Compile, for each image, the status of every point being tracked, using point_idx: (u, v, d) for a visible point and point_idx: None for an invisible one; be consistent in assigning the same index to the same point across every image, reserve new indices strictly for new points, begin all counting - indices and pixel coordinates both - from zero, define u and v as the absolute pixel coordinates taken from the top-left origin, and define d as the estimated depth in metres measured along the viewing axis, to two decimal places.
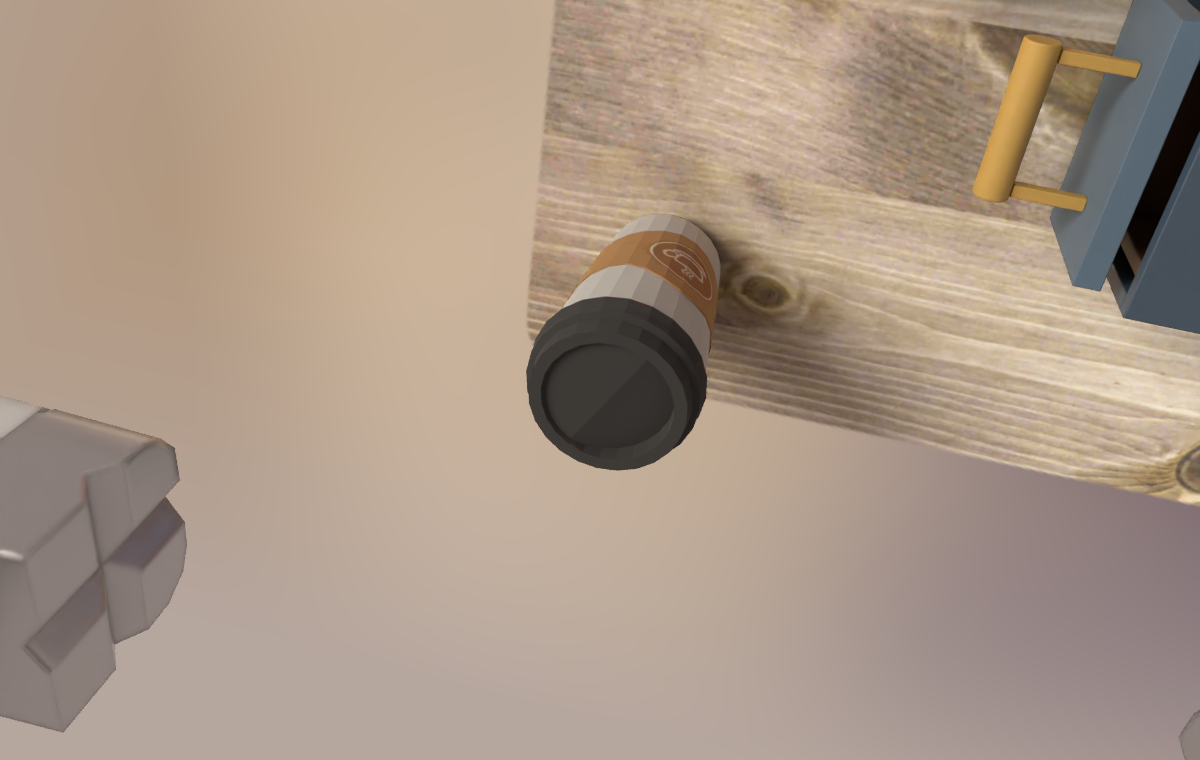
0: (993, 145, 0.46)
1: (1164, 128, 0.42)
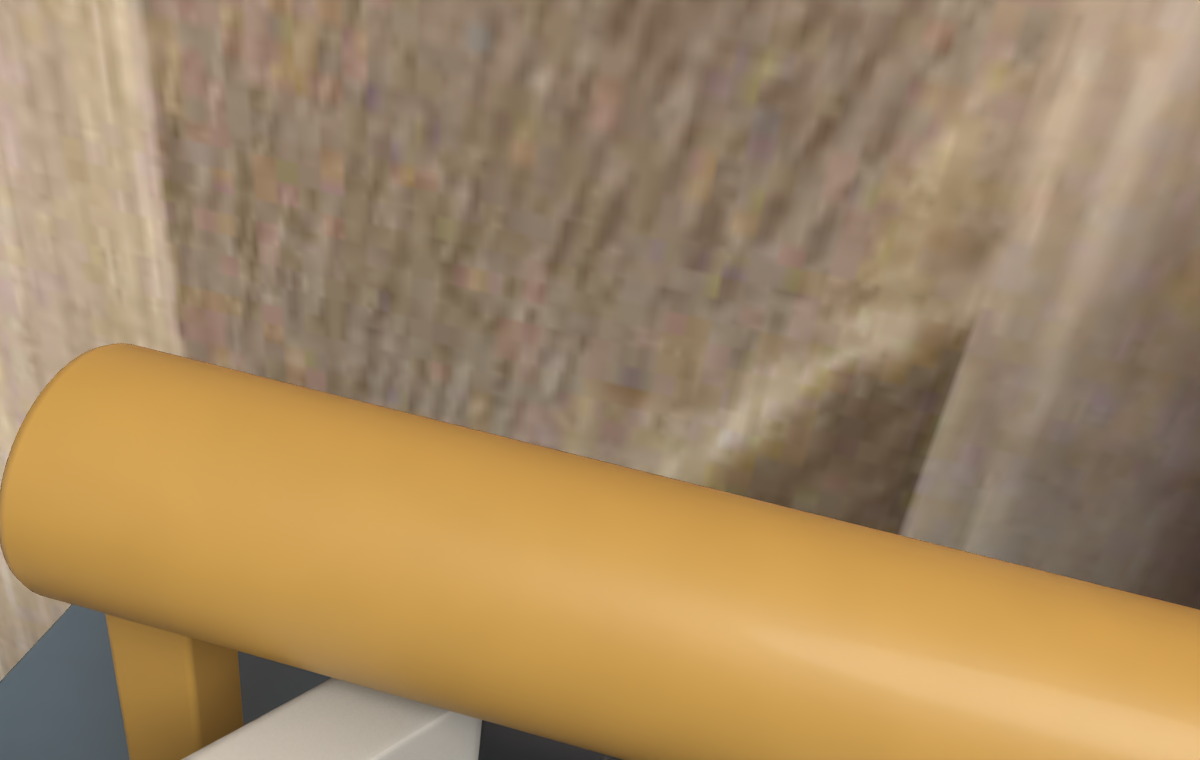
0: (426, 531, 0.06)
1: None
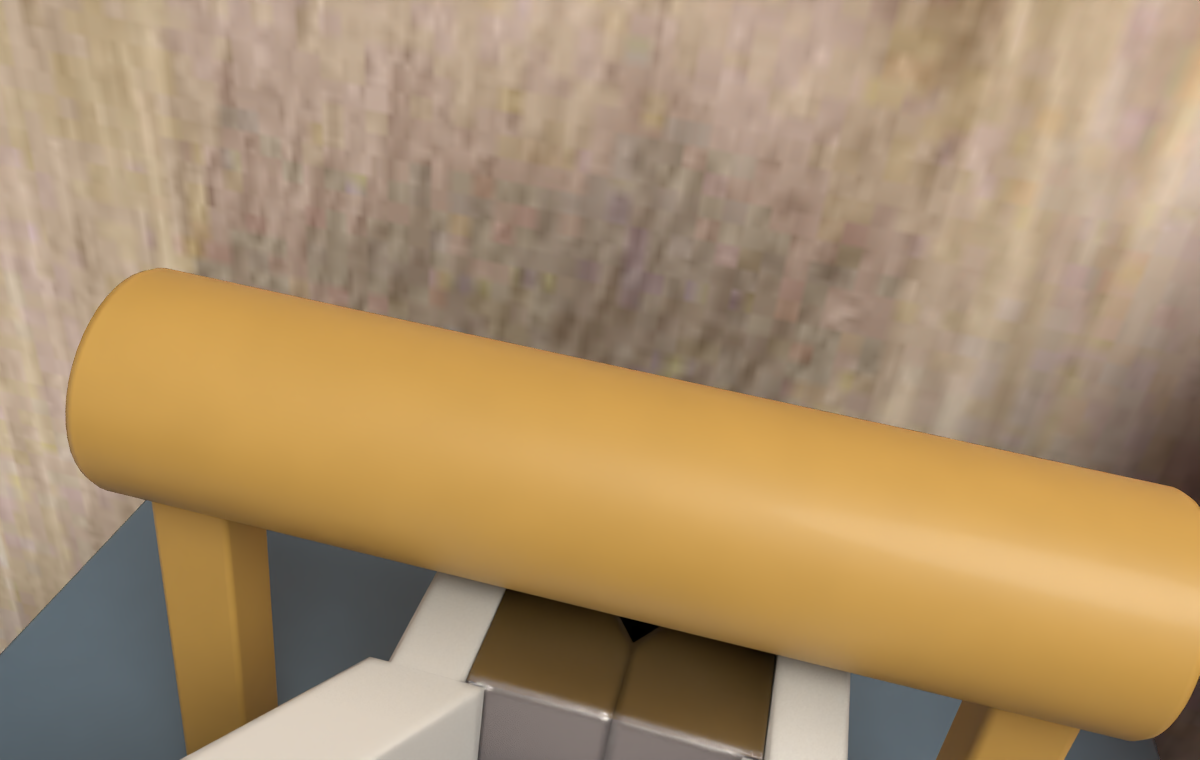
0: (435, 412, 0.06)
1: None
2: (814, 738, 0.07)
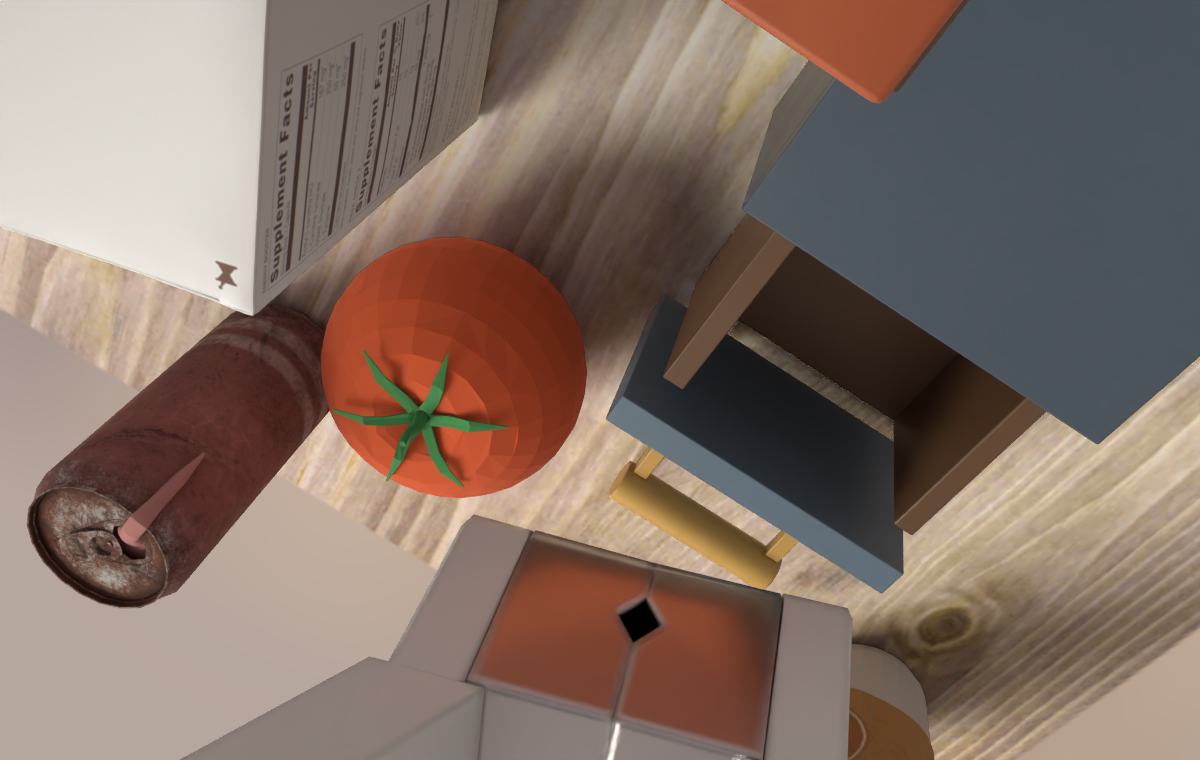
0: (708, 558, 0.41)
1: (721, 464, 0.36)
2: (814, 738, 0.07)
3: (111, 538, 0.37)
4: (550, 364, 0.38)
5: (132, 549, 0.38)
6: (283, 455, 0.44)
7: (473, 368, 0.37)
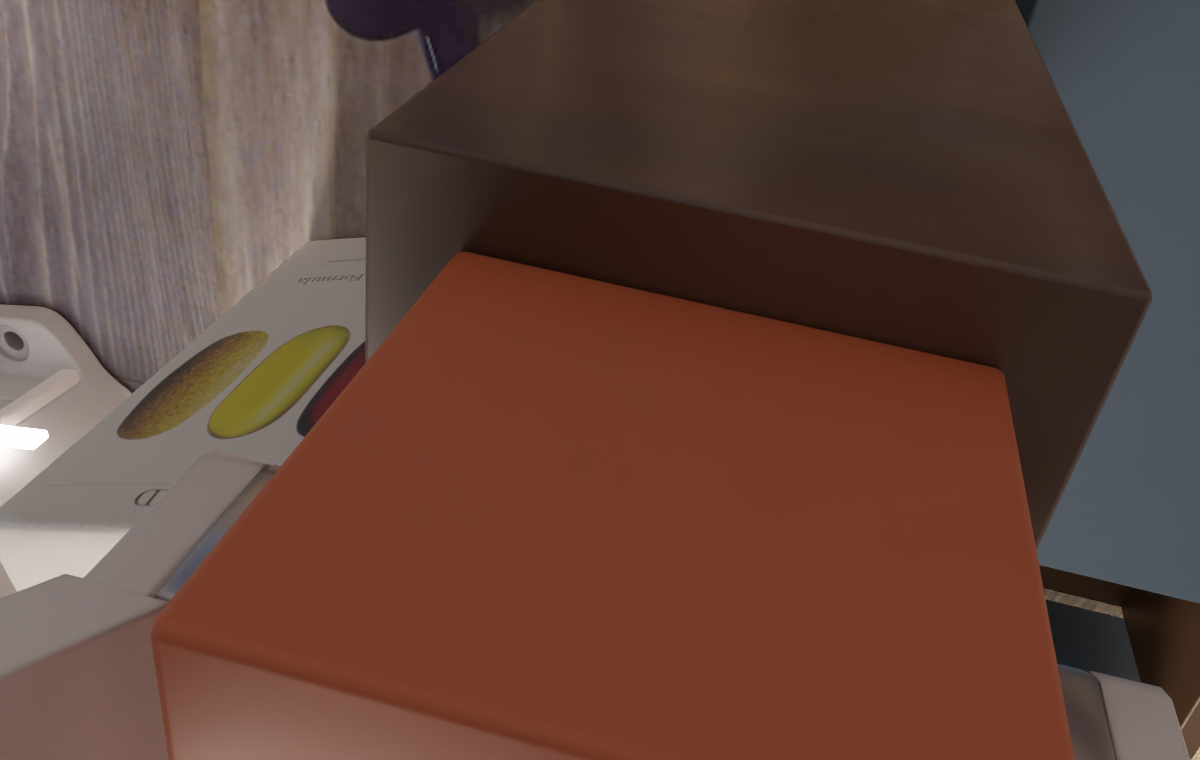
0: None
1: None
2: None
3: None
4: None
5: None
6: None
7: None
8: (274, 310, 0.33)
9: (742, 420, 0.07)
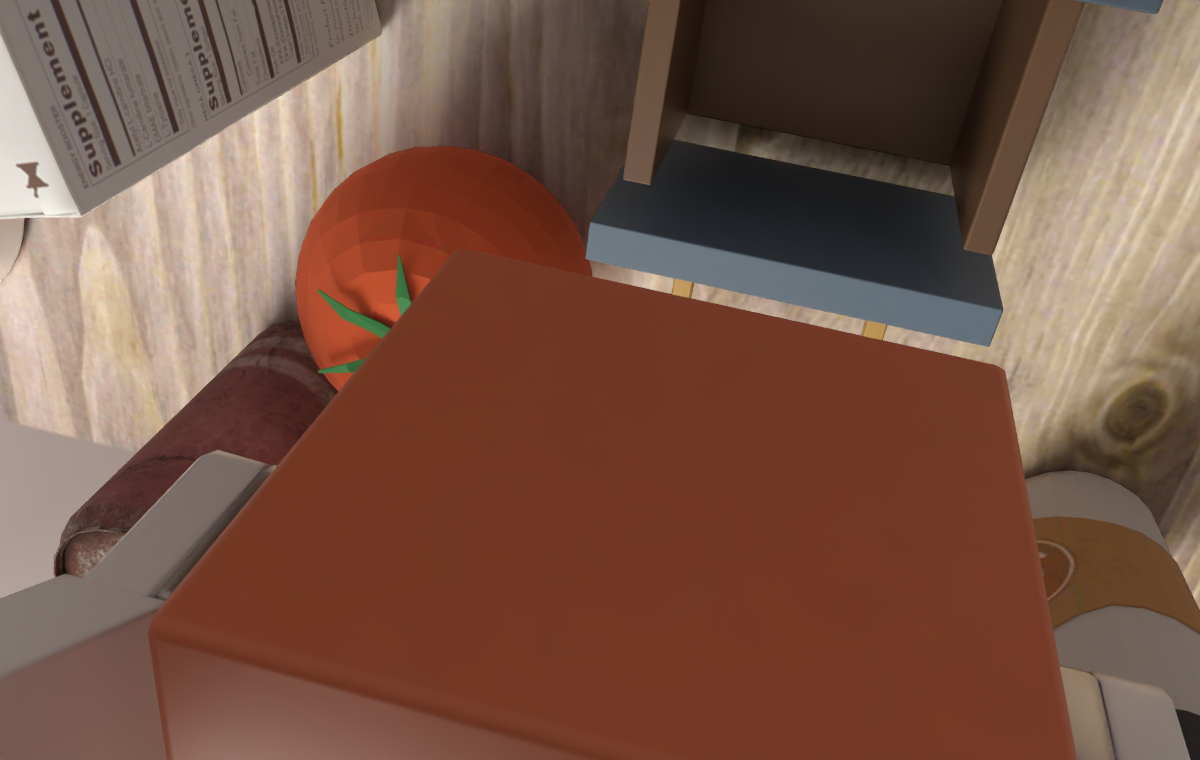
0: None
1: (731, 258, 0.29)
2: None
3: None
4: (521, 235, 0.33)
5: None
6: None
7: (432, 263, 0.32)
8: None
9: (742, 418, 0.07)
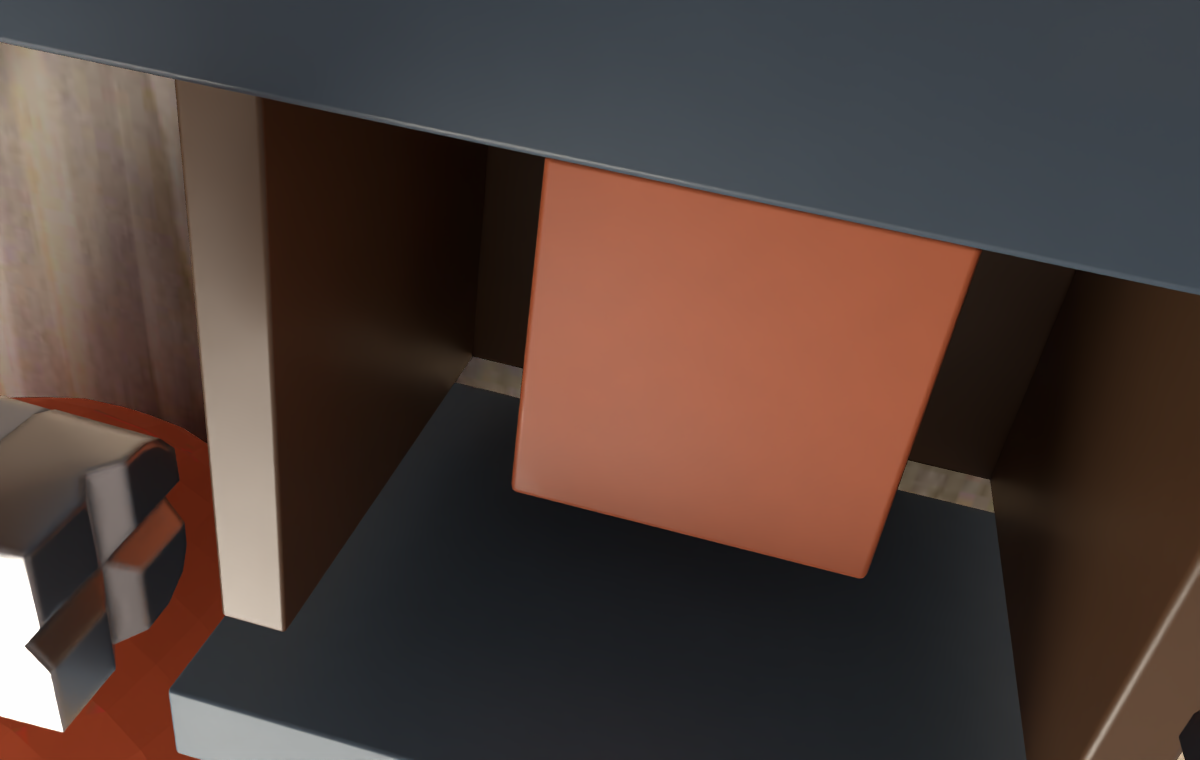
0: None
1: None
2: None
3: None
4: None
5: None
6: None
7: None
8: None
9: None
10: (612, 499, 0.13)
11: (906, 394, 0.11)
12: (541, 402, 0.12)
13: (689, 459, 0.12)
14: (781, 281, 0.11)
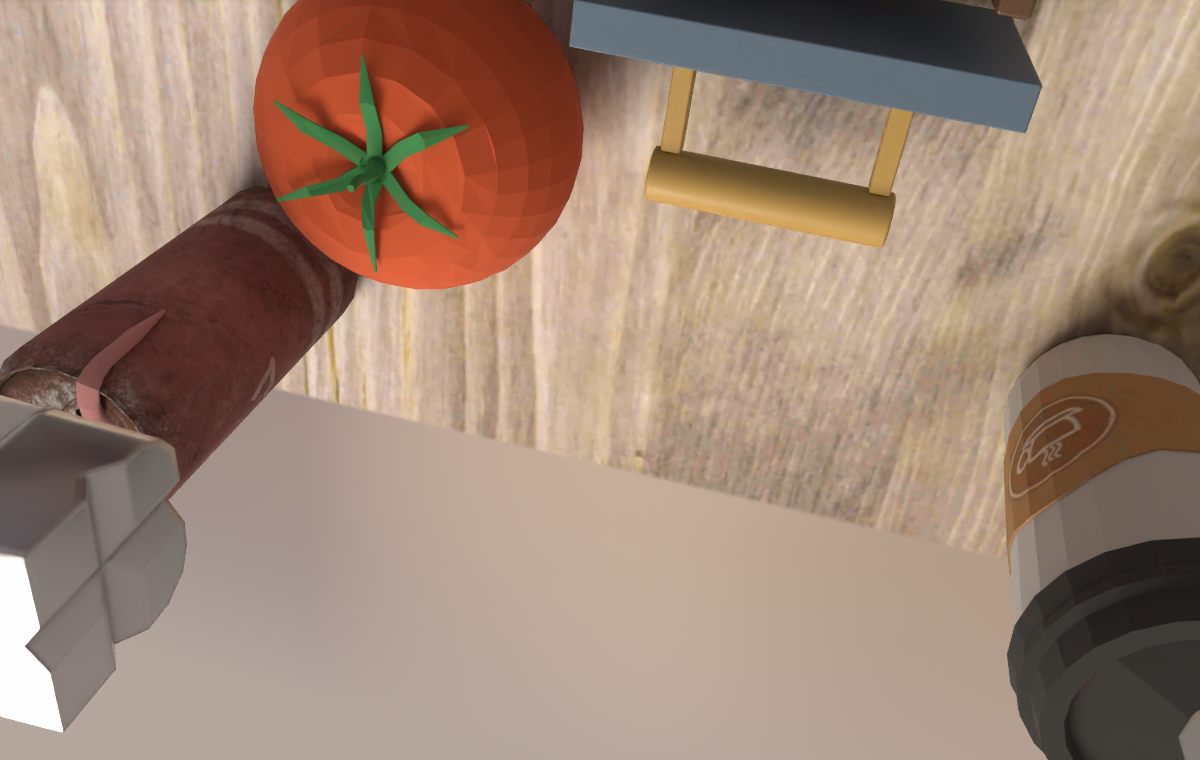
0: (800, 230, 0.31)
1: (732, 37, 0.26)
2: None
3: None
4: (499, 39, 0.29)
5: None
6: (287, 323, 0.37)
7: (399, 64, 0.29)
8: None
9: None
10: None
11: None
12: None
13: None
14: None
